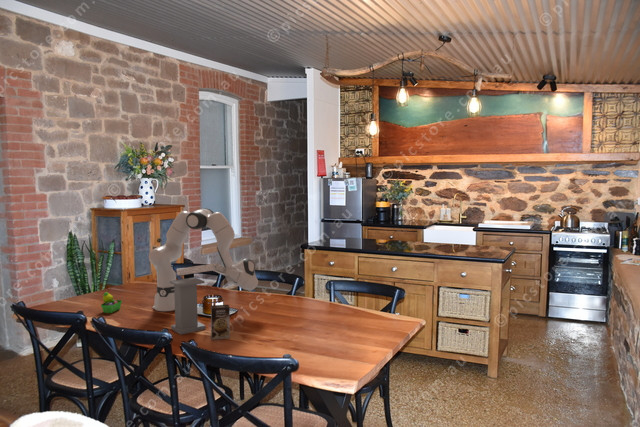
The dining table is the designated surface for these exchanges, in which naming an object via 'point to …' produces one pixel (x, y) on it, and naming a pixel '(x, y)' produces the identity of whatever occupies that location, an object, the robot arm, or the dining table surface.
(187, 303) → the shelf stand
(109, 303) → the fruit basket
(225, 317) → the coffee box
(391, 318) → the dining table surface
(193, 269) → the beige wooden bar
